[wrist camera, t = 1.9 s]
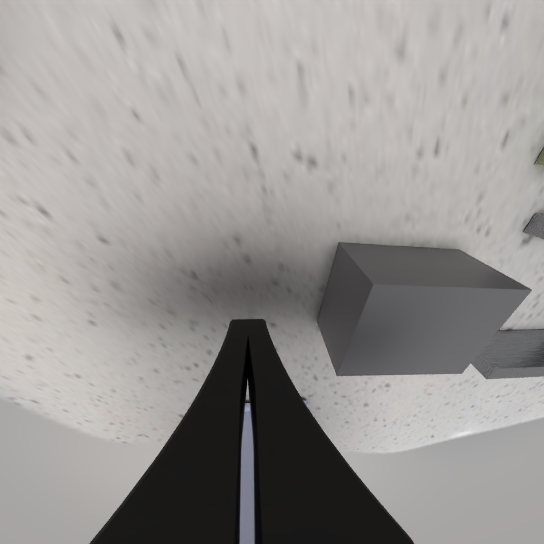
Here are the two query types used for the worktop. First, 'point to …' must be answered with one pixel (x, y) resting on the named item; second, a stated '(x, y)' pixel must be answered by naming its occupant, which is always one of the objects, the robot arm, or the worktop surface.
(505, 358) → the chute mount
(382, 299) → the grey block
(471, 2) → the worktop surface
